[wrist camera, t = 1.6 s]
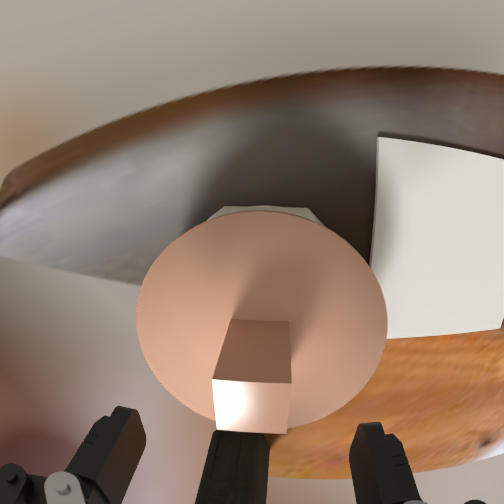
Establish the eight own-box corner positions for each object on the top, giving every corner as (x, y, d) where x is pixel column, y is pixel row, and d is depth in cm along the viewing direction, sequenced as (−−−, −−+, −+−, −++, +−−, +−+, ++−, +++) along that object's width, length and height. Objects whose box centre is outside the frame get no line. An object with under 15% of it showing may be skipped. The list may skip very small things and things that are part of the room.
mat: (524, 165, 18) (527, 166, 17) (497, 325, 22) (500, 328, 21) (376, 137, 19) (378, 136, 18) (358, 336, 23) (360, 339, 22)
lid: (399, 215, 14) (457, 243, 9) (359, 420, 18) (374, 485, 13) (129, 210, 16) (63, 234, 10) (160, 410, 19) (132, 470, 14)
